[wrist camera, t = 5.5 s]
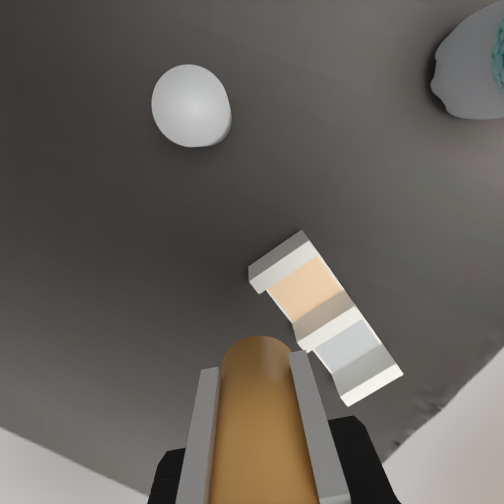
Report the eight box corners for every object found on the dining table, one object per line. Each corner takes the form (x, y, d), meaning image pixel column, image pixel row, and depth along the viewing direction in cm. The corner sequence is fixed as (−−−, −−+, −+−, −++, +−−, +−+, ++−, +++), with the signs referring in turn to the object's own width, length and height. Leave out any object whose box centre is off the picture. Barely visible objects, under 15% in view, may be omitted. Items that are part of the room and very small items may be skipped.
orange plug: (231, 407, 18) (219, 603, 10) (213, 344, 17) (185, 508, 9) (302, 392, 18) (346, 580, 10) (288, 328, 17) (324, 481, 9)
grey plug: (168, 111, 24) (135, 97, 17) (210, 78, 24) (197, 46, 16) (201, 156, 25) (184, 162, 17) (242, 125, 25) (244, 116, 17)
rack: (248, 266, 28) (248, 281, 25) (301, 229, 27) (308, 240, 24) (337, 381, 31) (347, 406, 28) (387, 351, 30) (403, 374, 27)
